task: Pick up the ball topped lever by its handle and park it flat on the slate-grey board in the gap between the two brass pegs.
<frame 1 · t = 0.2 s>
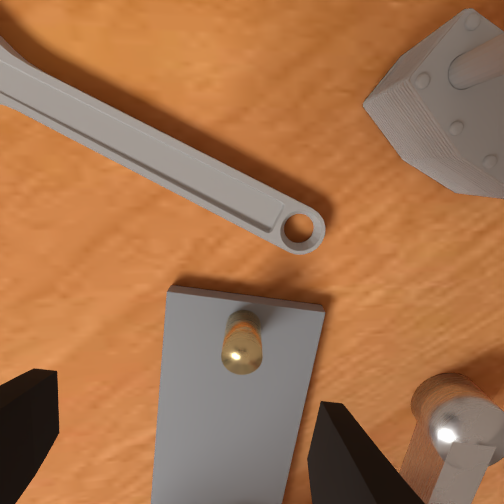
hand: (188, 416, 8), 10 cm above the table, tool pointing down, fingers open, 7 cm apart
adjustable wrench: (103, 139, 16), on the table
peg pair: (224, 457, 18), on the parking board, point 2 cm above the table
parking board: (227, 423, 21), on the table
padlock: (426, 129, 16), on the table
ball topped lever: (427, 446, 21), on the table
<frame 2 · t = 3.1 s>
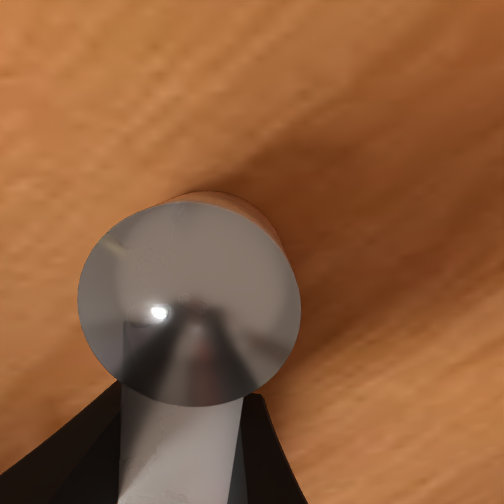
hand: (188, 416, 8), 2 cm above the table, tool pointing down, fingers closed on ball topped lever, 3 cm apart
ball topped lever: (198, 377, 10), on the table, touching gripper
when the fingers open (3 cm above the table, at t = 7.5 s): ball topped lever stays where it is, resting on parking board.
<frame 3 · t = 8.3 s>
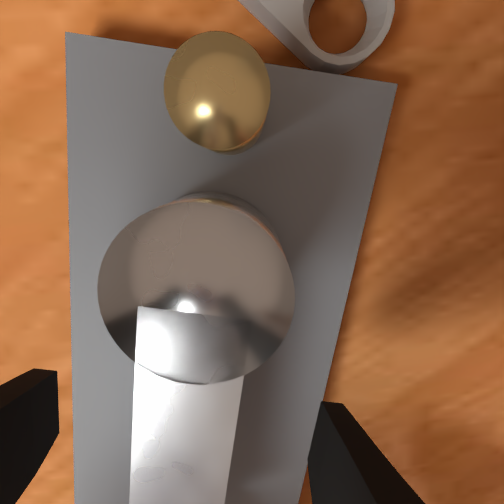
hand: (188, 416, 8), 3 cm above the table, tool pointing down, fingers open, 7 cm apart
peg pair: (194, 393, 9), on the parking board, point 2 cm above the table
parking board: (205, 346, 12), on the table
ball topped lever: (201, 364, 11), point 1 cm above the table, touching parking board
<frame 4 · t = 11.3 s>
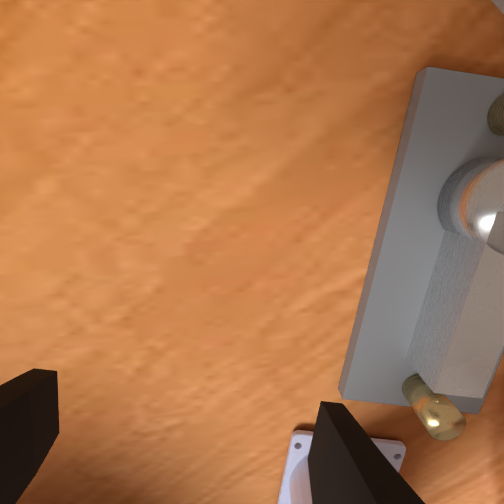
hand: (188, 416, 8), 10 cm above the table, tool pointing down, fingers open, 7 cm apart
peg pair: (476, 276, 16), on the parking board, point 2 cm above the table
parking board: (446, 262, 18), on the table
ball topped lever: (456, 268, 17), point 1 cm above the table, touching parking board
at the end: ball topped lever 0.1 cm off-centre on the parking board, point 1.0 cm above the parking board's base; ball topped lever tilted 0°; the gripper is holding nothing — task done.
